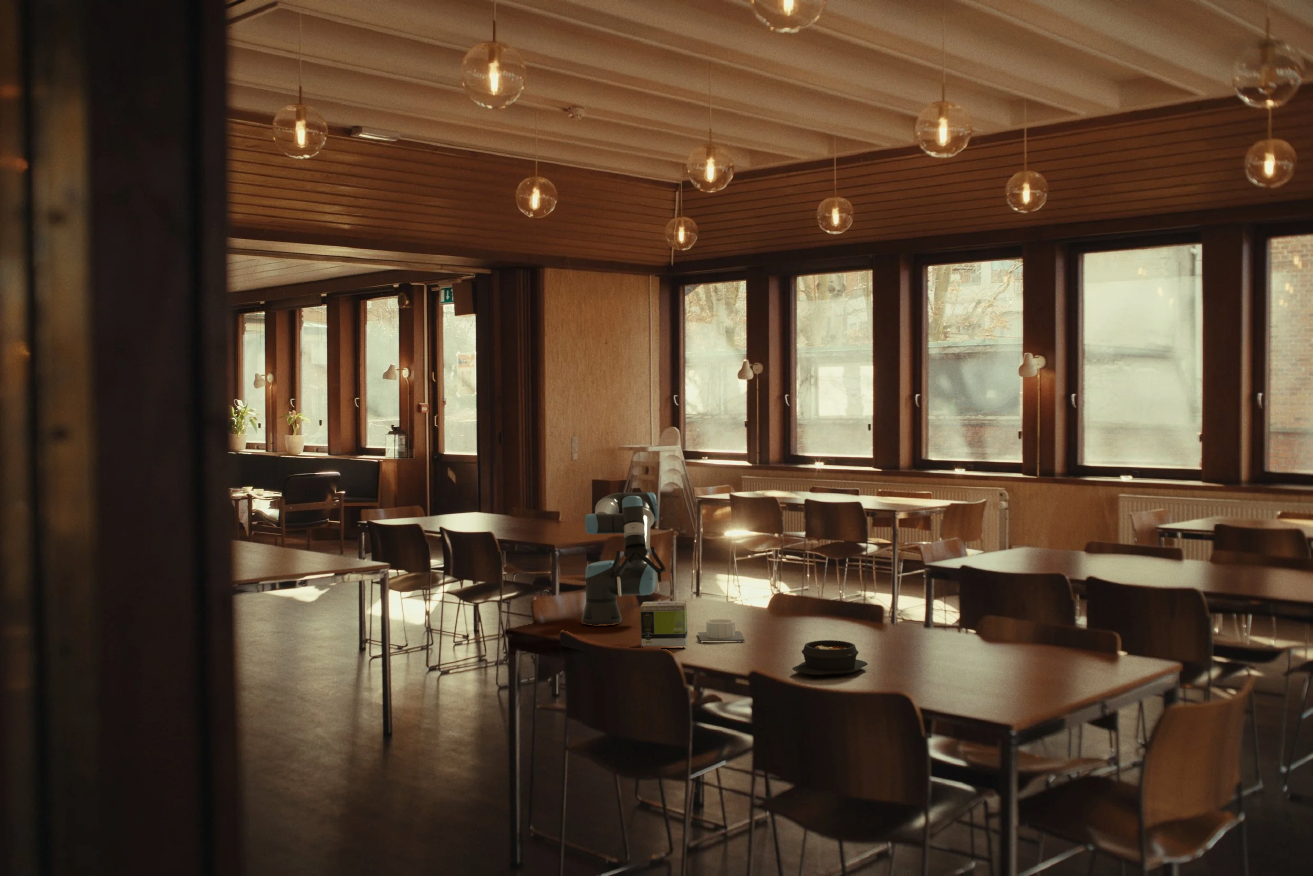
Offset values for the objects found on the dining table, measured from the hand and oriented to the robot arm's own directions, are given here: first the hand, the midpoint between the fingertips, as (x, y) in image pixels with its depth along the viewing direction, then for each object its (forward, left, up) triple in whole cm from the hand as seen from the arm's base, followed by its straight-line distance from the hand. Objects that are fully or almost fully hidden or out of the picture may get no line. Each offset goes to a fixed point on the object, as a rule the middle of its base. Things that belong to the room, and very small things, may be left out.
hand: (638, 593), depth 402 cm
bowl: (+6, +28, -15) cm, 33 cm away
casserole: (+62, +56, -16) cm, 85 cm away
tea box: (+17, +8, -16) cm, 25 cm away
